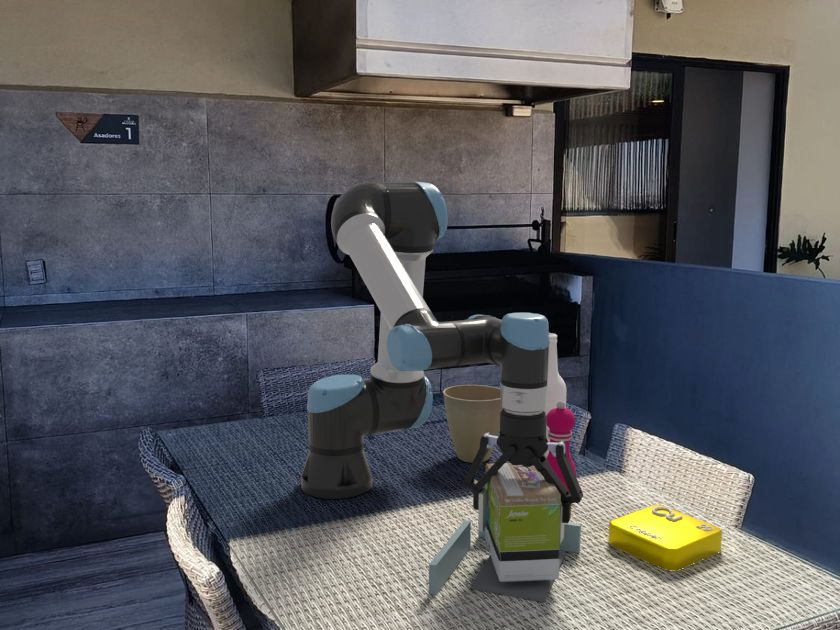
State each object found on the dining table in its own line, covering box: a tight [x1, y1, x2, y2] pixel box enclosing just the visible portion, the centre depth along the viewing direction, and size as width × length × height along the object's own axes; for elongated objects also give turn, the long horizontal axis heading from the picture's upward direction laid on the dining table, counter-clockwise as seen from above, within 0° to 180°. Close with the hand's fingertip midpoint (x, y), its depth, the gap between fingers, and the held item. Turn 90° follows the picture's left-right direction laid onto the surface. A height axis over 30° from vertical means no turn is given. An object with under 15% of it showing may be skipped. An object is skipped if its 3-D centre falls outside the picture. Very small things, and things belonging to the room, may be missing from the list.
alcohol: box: [544, 332, 567, 458], centre depth 188 cm, size 9×9×30 cm
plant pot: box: [442, 384, 503, 464], centre depth 191 cm, size 15×15×16 cm
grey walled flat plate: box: [428, 519, 582, 596], centre depth 136 cm, size 20×24×5 cm
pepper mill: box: [547, 401, 577, 491], centre depth 169 cm, size 7×7×20 cm
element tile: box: [608, 504, 723, 571], centre depth 146 cm, size 15×15×5 cm
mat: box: [469, 551, 566, 603], centre depth 137 cm, size 12×17×1 cm
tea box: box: [484, 462, 561, 582], centre depth 135 cm, size 15×10×15 cm, turn 5°
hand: (520, 534), depth 136 cm, fingers closed on tea box, 12 cm apart
